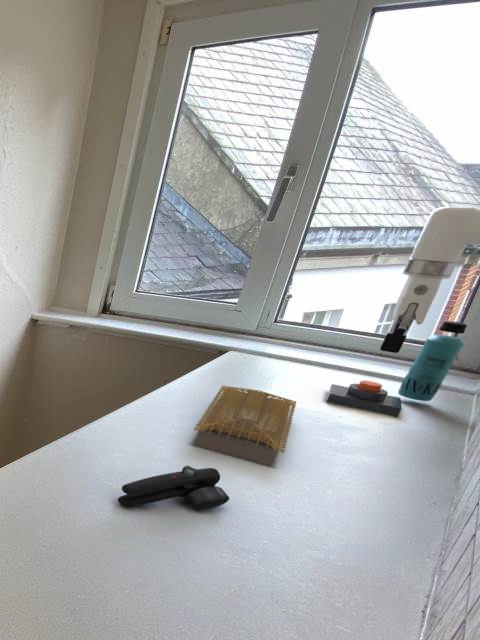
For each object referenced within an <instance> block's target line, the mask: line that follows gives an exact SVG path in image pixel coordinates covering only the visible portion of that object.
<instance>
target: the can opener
mask: <svg viewBox="0 0 480 640" xmlns="http://www.w3.org/2000/svg"><path fill="white" fill-rule="evenodd" d="M220 480H221V474H220V472H219V470H218V469H216V468H213V467H206V468H198V469H197V468H194V467H192V466H190V465H184V466H183V467H182V468H181V470H180V471H175V472H174V471H173V472H169V473H168V472H167V473H164V474H157V475H154V476H149V477H145V478H142V479H138V480H135V481H131V482H129V483H125V484H123V485H122V486H121V491H122V492H123V493H124V494H123V495H120V496H119V497H118V498H117V502H118V503H119V505H121V506H123V507H137V506H138V507H139V506H144V505H150V504H153V503H157V502H161V501H165V500H168V499H169V500H170V499H173V498H183V500H182V501H183V502H184V503H186V505H189V506H190V507H192V508H193V509H195V510H200V511H204V510H205V511H206V510H210V509H216V508H218V507H221V506H223V505H224V504H226V503H227V502H229V501H230V496H229V495H228V494H227V493H226V491H225V490H224V489H223V488H222V487H220V486H217V484H218V483H219V481H220Z"/></svg>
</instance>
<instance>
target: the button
mask: <svg viewBox="0 0 480 640" xmlns="http://www.w3.org/2000/svg"><path fill="white" fill-rule="evenodd" d="M358 384H359V385H358V388H359V389H363V390H366V391H371V392H379V391H380V389H382V388H383V384H381V383H379V382H375V381H371V380H360V381H359V383H358Z"/></svg>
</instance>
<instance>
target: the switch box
mask: <svg viewBox="0 0 480 640" xmlns="http://www.w3.org/2000/svg"><path fill="white" fill-rule="evenodd" d="M358 385H359V383H350V384H349V385H348V386H344V385H339V384H335V383H332V384H331V386H330V387H329V390H328V392H327V396H326V400H325V403H329V404H333V405H339V406H343V407H347V408H353V409H357V410H361V411H367V412H371V413H375V414H380V415H384V416H389V417H394V418H398V417H399V415H400V413H401V411H402V410H403V406H402V400H401V397H398V396H393V395H390V394H389V392H388V391H387V390H385V389H383V388H381V389H380V391H379V392H371V391H366V390H363V389H359V388H358Z"/></svg>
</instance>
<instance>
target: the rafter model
mask: <svg viewBox="0 0 480 640" xmlns="http://www.w3.org/2000/svg"><path fill="white" fill-rule="evenodd" d="M296 406H297V401H296V400H293V399H289V398H286V397H282V396H279V395H276V394H272V393H269V392H266V391H262V390H259V389H252V388H245V387H244V388H243V387H235V386H228V385H221V387H220V388H219V390H218V392H217V393H216V394H215V396H214V398H213V399H212V400H211V402H210V404H209V405H208V407H207V408H206V410H205V412H204V413H203V414H202V416H201V418H200V419H199V420H198V422H197V423H196V425H195V426H194V428H193V431H198V433H197V434H196V438H195V440H194V443H193V445H194V446H197V447H199V448H203V449H207V450H211V451H215V452H217V453H220V454H221V453H222V454H225V455H229V456H232V457H237V458H239V459H244V460H247V461H250V462H254V463H258V464H261V465H265V466H269V467H272V466H273V464H274V461H275V458H276V456H277V455H278V452H280V453H282V454H285V451H286V450H285V449H286V447H287V443H288V439H289V434H290V430H291V426H292V422H293V418H294V414H295V410H296Z"/></svg>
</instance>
